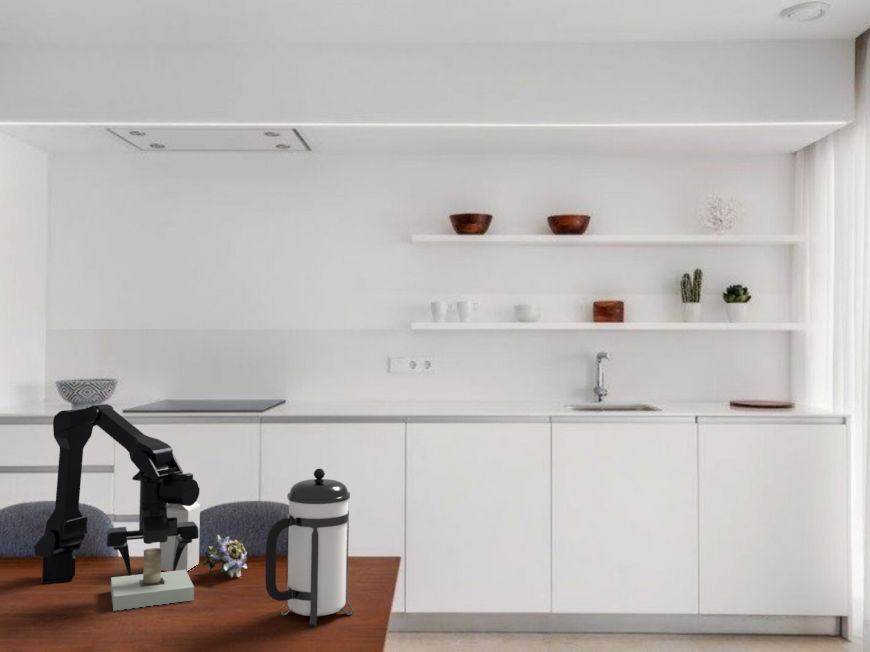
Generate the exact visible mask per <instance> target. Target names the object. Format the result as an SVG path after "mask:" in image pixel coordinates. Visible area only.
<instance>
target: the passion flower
mask: <svg viewBox="0 0 870 652" xmlns="http://www.w3.org/2000/svg"><path fill="white" fill-rule="evenodd" d="M215 536H216V541H217V544H215V547H216V548H214V546H208V547H207V549H206V550H205V551H204V555H205V556H206V558H207V559H206V560H204V562H203V563H202V566H203V567H204V566H206V565H208V574H209V573H211V570H212V569H213V568H215V566H216V564H218V563H219V562H220V563H221V565H220V568H219V569H220V571H221V572H222V573H224V572H226V574H227V577H229V578H231V579H233V577H234V578H235V577H240V576H241V577H242V571H241V570H248V566H247V563H246V562H247V561H248V560H247V559H248V557H247V554H248V552H247V551H246V548H245V547H244V544H243V540H241V539H240V540H239V541H238V540H237V539H235V540H234V539H230V536H224V538H222V537H221V535H219V534H216V535H215ZM241 577H240V578H241Z"/></svg>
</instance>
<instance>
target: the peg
mask: <svg viewBox="0 0 870 652" xmlns="http://www.w3.org/2000/svg"><path fill="white" fill-rule="evenodd" d="M142 565H143V569H142V570H143V572H142V574H143V587H144V586H153V585H160V583H161V549H160V547H150V548H146V549H144V550H143V564H142Z"/></svg>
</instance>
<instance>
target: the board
mask: <svg viewBox="0 0 870 652" xmlns="http://www.w3.org/2000/svg"><path fill="white" fill-rule="evenodd" d="M110 594H111V595H110V596H112V597H111V603H112V609H113V612H117V610H118V611H125V610H124V609H127V610H133V609H132V608H135V609H140V608H139V607H143V608H147V607H146V606H151V607H154V606H153V605H159V606H163V605H162V604H167V605H170V604H169V603H175V602H183V601H191V600H195V586H194V584H193V582H192V580H191V578H190V576H189V572H187V571H186V570H177V571H167V572H161V583H160V585H153V586H144V587H143V573H141V574H132V575H131V576H129V575H123V576H122V575H121V576H114V577H110ZM191 602H192V601H191ZM183 603H184V602H183ZM175 604H176V603H175Z"/></svg>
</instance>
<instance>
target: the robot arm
mask: <svg viewBox="0 0 870 652" xmlns="http://www.w3.org/2000/svg"><path fill="white" fill-rule="evenodd" d="M114 409H115V408H114V407H113V406H112V405H110V404H107V403H106V404H105V403H103V404H93V405H91V406H89V407H85V408H78V409H76V408H75V409H66V410H60V411H58V412H57V414H55V415H54V417H53V421H52V428H53V429H52V431H53V438H54V439H55V441H56V443H57V445H58V447H59V455H58V470H57V480H56V490H55V491H56V494H55V505H54V506H55V508H54V510H53V511H52V513H51V514H50V516H49V518H48V520H46V524H45V530H44V534H43V535H42V537H41V538H40V539H39V540H38V541H37V542H36V543H35V545H34V546H33V549H34V553H35V556H37V557H41V558H42V571H41V573H42V575H41V581H40V583H42V585H43V584H51V583H52V584H54V583H53V582H55V583H62V582H63V581H64V582H72V581H73V580H74V577H75V576H76V555H74V553H73V552H74V551H77V550H80V549H81V546H82V543H83V540H85V536H86V534H88V530H87V524H88V521H89V519H88V516H87V515H86V516H85V515H83V514H82V513H81V511H80V508H79V507H80V493H81V485H82V483H81V480H82V469H83V458H84V457H83V455H84V448H85V446H86V445H87V443H88V442H89V440H90V438H91V437H92V433H93V429H94V427H95V426H98V427H99V429H101V430H102V431H104V433H105V434H107V435H108V436H110V437H111V438H112V439H113V440H114V441H116V442H117V443H118V444H119V445H120V446H122V447H123V448H124V449H125V450H126V451H127V452H128V454H129V459H130V461H131V462H132V464H133V465H134V466H135V467H136V468H137V469H138V470H139V471H138V472H137V473H136V474H135V475H133V476H132V478H131V479H132V480H133V481H138V482H139V484H140V485H139V518H138V519H139V521H138V527H139V528H138V529H137V530H135V529H134V530H127V527H126V526H118V527H109V528H108V529H107V530H106V535H105V537H106V538H105V539H106V540H105V541H106V547H112V549H113V550H114V551H118V552H119V553H120V555H121V557H122V559H123V562H124V565H125V568H126V569H125V570H126V571H127V574H128V575H127V576H131V573H132V571H131V570H132V568H131V558H130V550H129V543H128V541H132V540H143V543H144V544H147V545H149V544H153V543H154V544H155V543H160V542H161V543H164V542H166V541H167V540H168V536H176V538H175V547H174V556H173V571H175V570H176V567H177V564H178V562H179V559H180V556H181V553H182V551H183V549H184V548H185V546H186V545H187V544H188V543H192V539H197V538H198V532H199V533H200V531H198V527H197V525H196V524H195V523H194V522H193V521H192V522H179V523H178V525H177V517H172V518H167V504H176V505H184V506H191V505H193V504H194V503H195V502H198V501H197V500H198V499H199V495H200V490H201V489H200V486H199V484H198V482H197V481H196V480H195V479H194V474H193V473H190V472H188V473H184V471H183V469H182V467H181V465H180V464H179V462H178V460H177V458H176V456H175V455H174V453H173V452H174V450H173V448H172V447H171V445H170V444H169V443H166V442H164V441H163V440H160V439H158V438H155V437H151V436H148V435H146V434H144V433H143V432H142V431H141V430H139V429H138V428H137V427H136V426H135V425H133V424H132V423H131V422H130V421H128V420H127V419H125V417H123V416H122V415H120V414H119V413H118V412H117V411H116V410H114ZM71 580H72V581H71Z"/></svg>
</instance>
